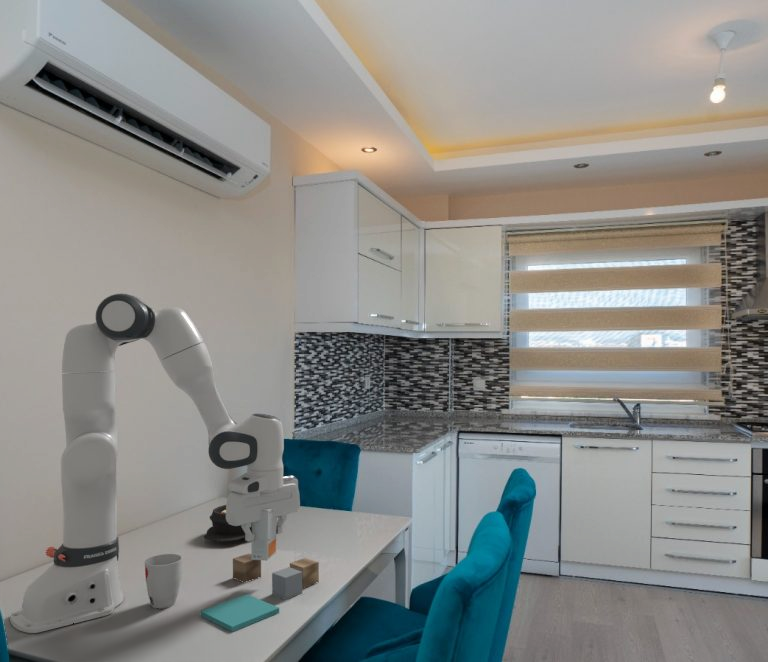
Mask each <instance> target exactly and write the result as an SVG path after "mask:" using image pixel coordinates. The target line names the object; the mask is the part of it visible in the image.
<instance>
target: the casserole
mask: <svg viewBox="0 0 768 662" xmlns="http://www.w3.org/2000/svg"><path fill="white" fill-rule="evenodd" d="M211 512H212V513H211V514H210V516H209V520H210V521H211V524H212V525H211V527H209V528H208V529H207V530H206V534H205V535H203V539H204V540H206V541H211V542H219V543H221V542H235V541H240V539H241V540H245V532H244V530H243V529H242V527H241V525H239V526H233V525H230V524H229V523H228V522H227V521H226V504H223V505H220V506H217V507H215V508H214V509H213V510H212V511H211ZM249 528H250V530H251V532H252V523H251V527H249Z"/></svg>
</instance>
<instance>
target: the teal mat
mask: <svg viewBox="0 0 768 662" xmlns="http://www.w3.org/2000/svg"><path fill="white" fill-rule="evenodd" d="M199 613H200V615H199V616H200V617H203V618H204V619H205V620H208V621H210V622H212V623H214V624H216V625H217V626H220V627H222V628H225V629H226V630H227V631H229V632H232V633H233V632H236V631H238V630H241V629H243V628H245V627H248V626H250V625H252V624H255V623H257V622H259V621H262V620H265V619H267V618H269V617H272V616H275V615H277V614H279V613H280V607H278V606H276V605H273V604H271V603H269V602H266V601H264V600H262V599H259V598H257V597H254V596H252V595H250V594H248V593H246V594H242V595H240V596H238V597H237V596H236V597H235V598H232V599H229V600H226V601H223V602H221V603H218V604H215V605H213V606H210V607H207V608H205V609H202V610H200V612H199Z"/></svg>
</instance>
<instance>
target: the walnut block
mask: <svg viewBox="0 0 768 662" xmlns="http://www.w3.org/2000/svg"><path fill="white" fill-rule="evenodd" d="M258 577H260V578H262V560H252V559H251V553H247V554H243V555H240V556H236V557H233V558H232V579H234V578H236V579H238V580H237V581H239V580H241V581H243V582H242V583H244V582H246V581H249V580H251V581H253V580H252V579H254V580H256V579H255V578H257V579H259V578H258ZM236 579H235V580H236ZM241 581H240V582H241ZM249 582H250V581H249ZM246 583H247V582H246Z"/></svg>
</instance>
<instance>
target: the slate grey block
mask: <svg viewBox="0 0 768 662" xmlns="http://www.w3.org/2000/svg"><path fill="white" fill-rule="evenodd" d="M271 582H272V585H271V586H272V587H271V589H272V591H271V592H272V595H273V596H276V597H279V598H281V599H283V600H288V599H291V598H293V596H294V597H295V596H298V594H299V595H301V594H303V588H302V572H301V571H298V570H296V569H293V568H290V566H288V567H285V568H283V569H279V570H277V571H273V572H272V573H271ZM300 593H301V594H300Z"/></svg>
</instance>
